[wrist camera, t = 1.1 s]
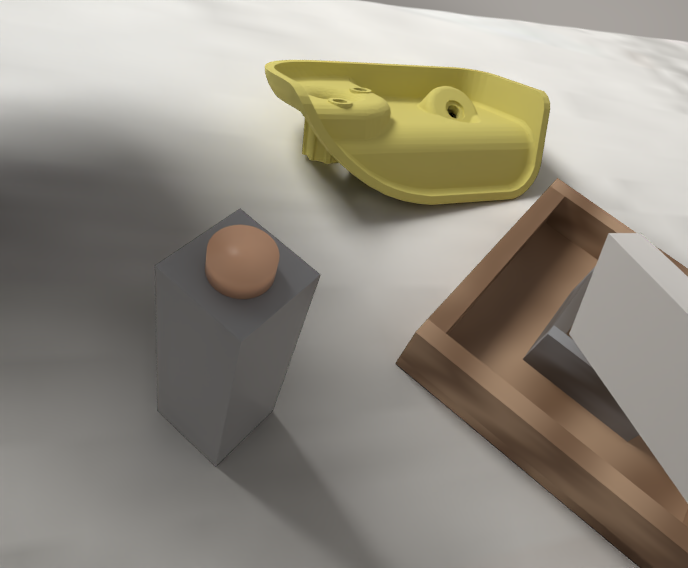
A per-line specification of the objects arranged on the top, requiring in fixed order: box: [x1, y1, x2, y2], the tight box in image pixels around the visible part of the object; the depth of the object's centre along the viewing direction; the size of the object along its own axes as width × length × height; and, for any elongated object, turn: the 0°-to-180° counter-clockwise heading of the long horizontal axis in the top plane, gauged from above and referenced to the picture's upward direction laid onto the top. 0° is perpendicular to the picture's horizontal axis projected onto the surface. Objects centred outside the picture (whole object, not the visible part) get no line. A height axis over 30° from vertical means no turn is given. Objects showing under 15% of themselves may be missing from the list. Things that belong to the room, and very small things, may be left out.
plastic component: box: [265, 60, 550, 205], centre depth 44 cm, size 20×7×10 cm
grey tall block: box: [155, 209, 320, 467], centre depth 25 cm, size 4×4×13 cm
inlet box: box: [396, 178, 688, 568], centre depth 36 cm, size 18×18×4 cm
